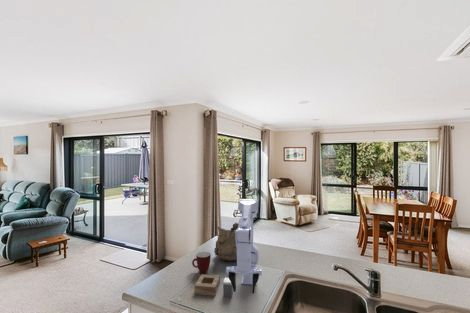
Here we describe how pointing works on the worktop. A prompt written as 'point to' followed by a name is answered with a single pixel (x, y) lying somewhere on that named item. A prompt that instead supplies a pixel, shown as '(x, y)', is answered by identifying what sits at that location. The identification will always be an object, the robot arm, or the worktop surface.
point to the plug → (227, 288)
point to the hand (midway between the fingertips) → (244, 291)
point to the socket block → (207, 285)
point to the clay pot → (226, 244)
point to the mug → (202, 261)
